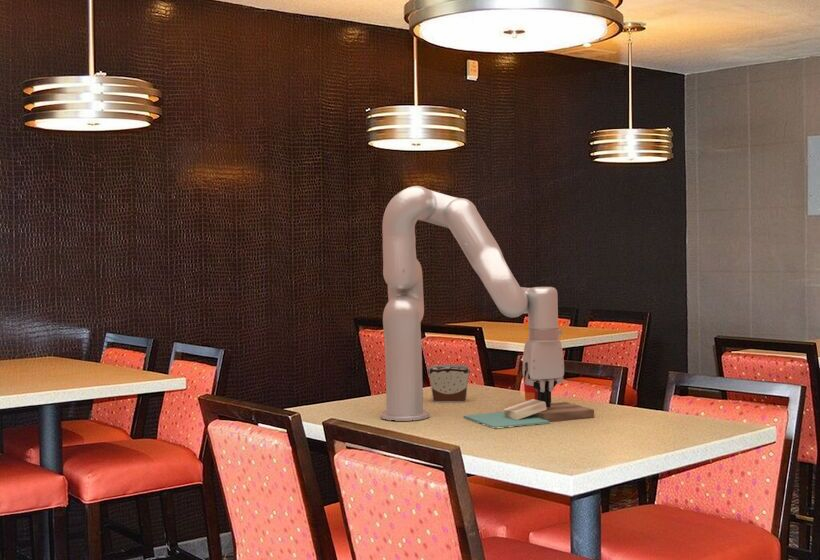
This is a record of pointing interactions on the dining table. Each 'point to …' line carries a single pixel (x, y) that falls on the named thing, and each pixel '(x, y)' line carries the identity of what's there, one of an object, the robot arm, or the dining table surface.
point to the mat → (504, 420)
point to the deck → (564, 412)
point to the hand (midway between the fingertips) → (544, 406)
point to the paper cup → (530, 391)
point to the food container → (449, 382)
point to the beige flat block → (524, 409)
